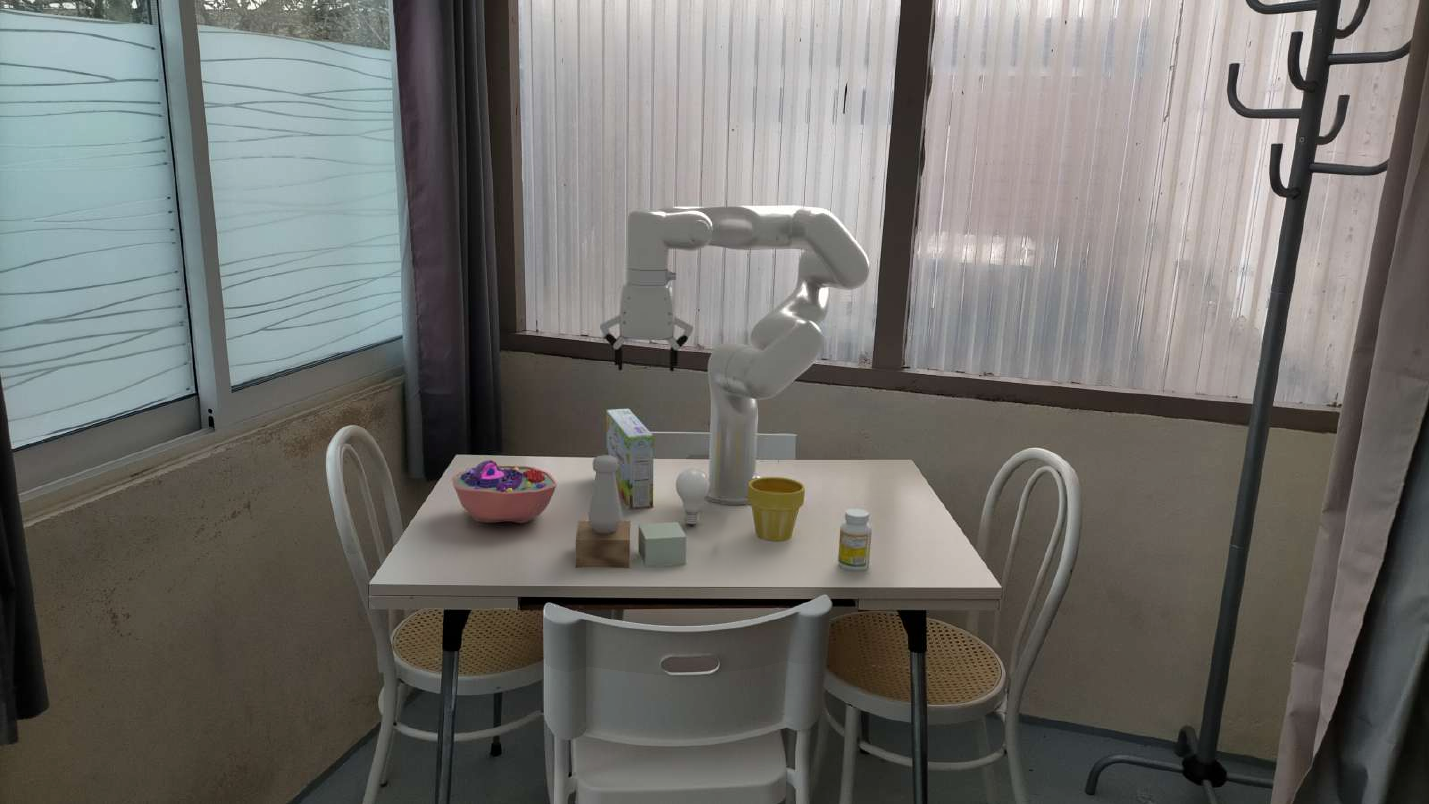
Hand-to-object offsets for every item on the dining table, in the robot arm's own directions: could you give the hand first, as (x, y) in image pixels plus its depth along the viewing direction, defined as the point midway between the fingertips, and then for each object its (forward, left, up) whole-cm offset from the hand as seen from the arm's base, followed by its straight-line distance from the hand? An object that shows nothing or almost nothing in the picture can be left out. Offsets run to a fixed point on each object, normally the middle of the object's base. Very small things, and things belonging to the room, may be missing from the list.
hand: (646, 369), depth 192 cm
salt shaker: (+7, +23, -24) cm, 33 cm away
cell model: (+26, +5, -29) cm, 39 cm away
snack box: (+3, -12, -29) cm, 31 cm away
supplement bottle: (-36, +26, -28) cm, 53 cm away
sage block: (-3, +23, -28) cm, 37 cm away
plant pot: (-24, +12, -28) cm, 39 cm away
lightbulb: (-9, +7, -28) cm, 31 cm away
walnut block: (+7, +23, -28) cm, 37 cm away
